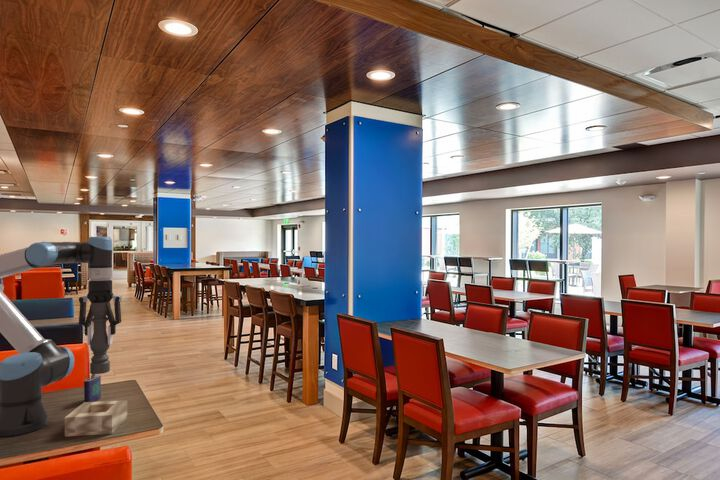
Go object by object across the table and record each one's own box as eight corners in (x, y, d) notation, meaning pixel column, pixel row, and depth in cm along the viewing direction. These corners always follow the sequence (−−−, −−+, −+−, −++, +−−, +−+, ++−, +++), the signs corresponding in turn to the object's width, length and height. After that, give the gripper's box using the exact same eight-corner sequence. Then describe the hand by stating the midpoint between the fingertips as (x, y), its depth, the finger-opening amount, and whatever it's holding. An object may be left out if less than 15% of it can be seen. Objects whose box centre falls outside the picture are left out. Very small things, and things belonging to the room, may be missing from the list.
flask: (95, 396, 184) (96, 369, 184) (103, 396, 185) (103, 369, 185) (82, 405, 175) (82, 376, 175) (90, 405, 175) (90, 376, 175)
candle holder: (91, 370, 168) (91, 301, 168) (111, 368, 171) (111, 300, 170) (88, 374, 163) (88, 303, 162) (108, 373, 165) (108, 302, 165)
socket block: (64, 436, 147) (64, 417, 147) (84, 419, 161) (84, 402, 161) (112, 433, 149) (112, 415, 149) (127, 417, 163) (127, 400, 163)
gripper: (66, 280, 161) (66, 347, 161) (125, 280, 165) (125, 345, 165) (76, 279, 169) (76, 342, 169) (132, 278, 172) (131, 341, 172)
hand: (100, 344), depth 167 cm, fingers closed on candle holder, 6 cm apart
